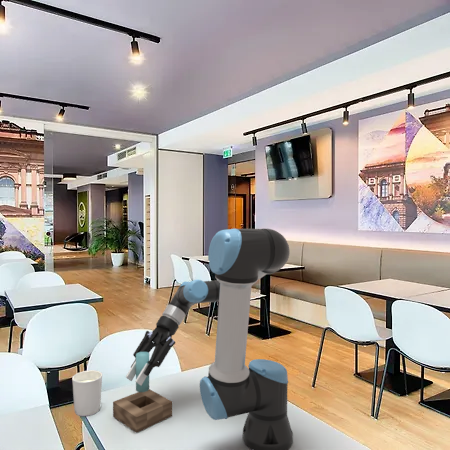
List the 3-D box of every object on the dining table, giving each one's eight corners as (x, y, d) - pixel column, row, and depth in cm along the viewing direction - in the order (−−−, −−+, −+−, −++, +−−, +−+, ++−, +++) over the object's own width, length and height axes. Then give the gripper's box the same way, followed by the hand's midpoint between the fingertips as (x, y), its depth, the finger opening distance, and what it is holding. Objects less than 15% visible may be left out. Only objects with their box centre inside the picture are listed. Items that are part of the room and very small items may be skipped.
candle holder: (92, 419, 128) (92, 383, 128) (66, 415, 130) (66, 380, 130) (107, 404, 138) (107, 371, 138) (82, 401, 140) (82, 369, 139)
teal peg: (151, 389, 131) (151, 354, 130) (140, 393, 127) (140, 357, 127) (144, 385, 134) (144, 350, 133) (133, 389, 130) (133, 354, 130)
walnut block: (172, 416, 130) (172, 401, 130) (136, 433, 120) (136, 417, 120) (147, 401, 140) (147, 388, 140) (113, 416, 130) (113, 401, 130)
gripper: (193, 331, 136) (157, 394, 124) (159, 321, 147) (123, 379, 135) (182, 319, 132) (144, 383, 120) (148, 310, 143) (110, 368, 131)
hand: (133, 381), depth 127 cm, fingers closed on teal peg, 4 cm apart
